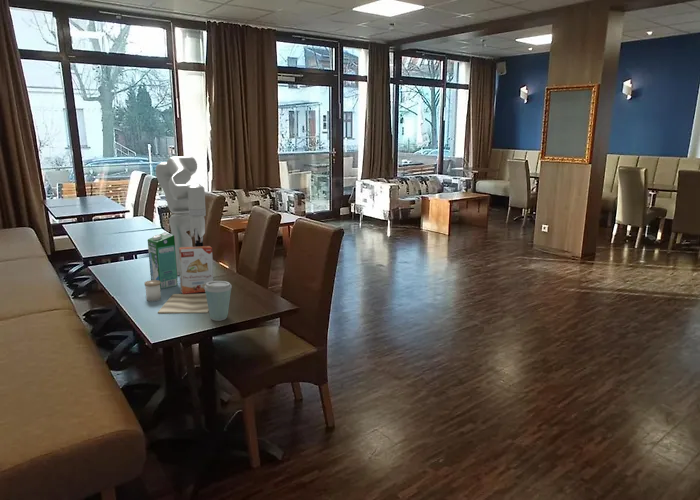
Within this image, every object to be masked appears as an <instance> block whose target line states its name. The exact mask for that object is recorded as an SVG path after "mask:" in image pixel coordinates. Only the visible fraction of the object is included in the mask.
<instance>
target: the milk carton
mask: <svg viewBox="0 0 700 500" xmlns="http://www.w3.org/2000/svg"><path fill="white" fill-rule="evenodd" d="M147 249H148V259H149V260H148V261H149V272H150V275H149V276H150V280H159V281H160V282H161V284H160V290H163V289H168V288H171V287H175V286H178V283H179V282H178V275H177V267H176V252H175V238H174V235H172V233H169V232H162V233H160V234H156V235H153V236H152V237H150V238H148V239H147Z"/></svg>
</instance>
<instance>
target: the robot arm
mask: <svg viewBox="0 0 700 500" xmlns="http://www.w3.org/2000/svg"><path fill="white" fill-rule="evenodd" d="M197 169H198V163H197V160H196V159H195V158H194V157H193V156H191V155H190V156H189V155H188V156H187V155H186V156H185V155H184V156H183V155H181V156H178V155H177V156H171V157H169V158H168V159H167V160H166V162H165V161H164V162H160V163H158V164H156V167H155V176H156V179H157V181H158V183H159V186H160V187H161V188H162V190H163V193H164V195H165V199H166V203H167V207H168V210H169V211H170V212H171V213H172V215H170V217H169V218H168V219H169V221H168V222H169V227H170V230H171V231H170V232H171V234H172V235H174V238H175V252H176V267H177V276H180V261H179V248H180V247H193V239H192V238H194V244H195V245H194V247H198V246H204V237H203V236H204V235H205V233H206V220H205V217H206V215H207V213H206V212H207V211H206V210H207V209H206V194H205V193H206V192H205V187H204V186H203V185H201V184H200V183H188V182H189V181H191V179H192V178H191V177H192V176H193V175H194V174H195V173H196V172H197ZM188 231H189V232H190V233H189V234H188V233H187V232H188Z"/></svg>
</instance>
